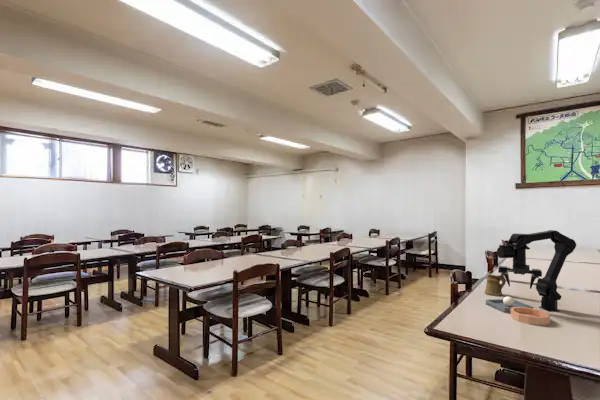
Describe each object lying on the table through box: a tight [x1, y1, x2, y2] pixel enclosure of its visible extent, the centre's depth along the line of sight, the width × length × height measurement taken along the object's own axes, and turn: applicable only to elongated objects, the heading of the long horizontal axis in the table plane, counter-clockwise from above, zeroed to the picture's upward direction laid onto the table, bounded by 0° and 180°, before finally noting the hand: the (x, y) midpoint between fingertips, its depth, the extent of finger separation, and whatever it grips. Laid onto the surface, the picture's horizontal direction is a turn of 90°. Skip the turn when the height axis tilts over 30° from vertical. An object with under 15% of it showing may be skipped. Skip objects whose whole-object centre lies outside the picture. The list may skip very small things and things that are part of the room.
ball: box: [503, 296, 515, 306], centre depth 171 cm, size 5×5×5 cm
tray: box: [485, 298, 534, 314], centre depth 171 cm, size 16×14×2 cm
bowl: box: [509, 307, 551, 326], centre depth 154 cm, size 15×15×4 cm
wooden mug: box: [484, 266, 510, 297], centre depth 196 cm, size 9×14×18 cm, turn 38°
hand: (519, 287), depth 169 cm, fingers open, 9 cm apart
